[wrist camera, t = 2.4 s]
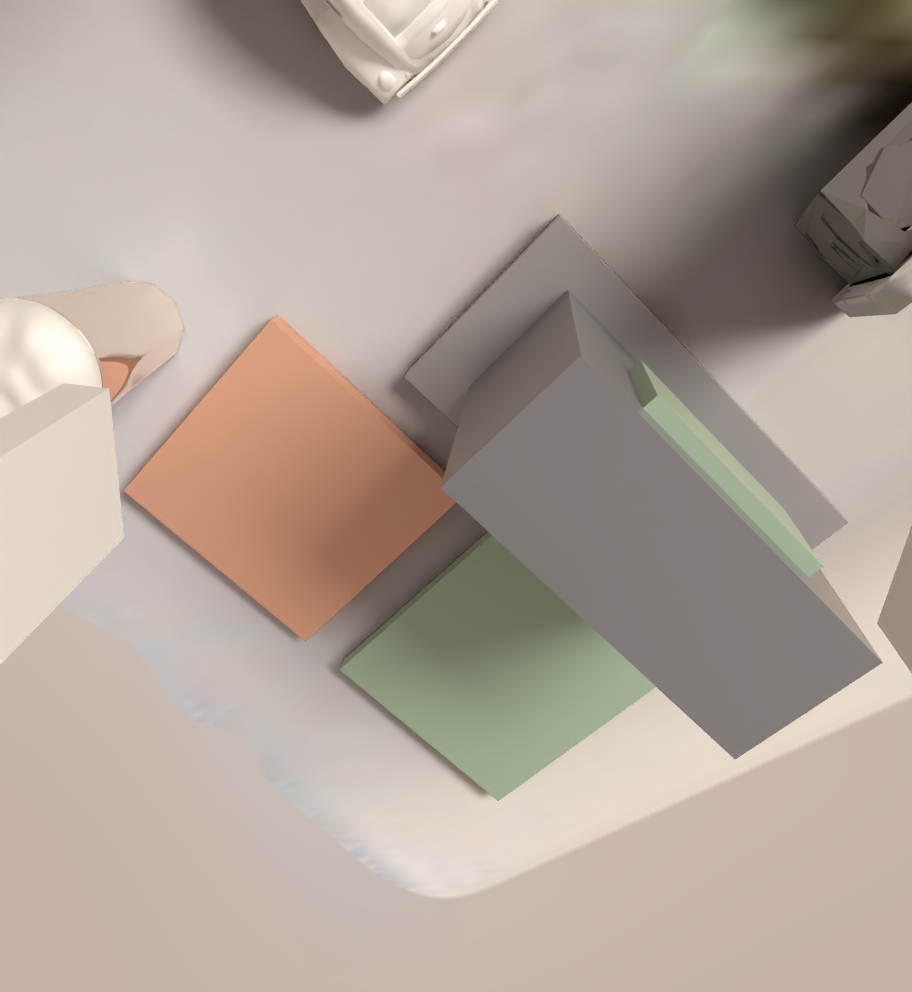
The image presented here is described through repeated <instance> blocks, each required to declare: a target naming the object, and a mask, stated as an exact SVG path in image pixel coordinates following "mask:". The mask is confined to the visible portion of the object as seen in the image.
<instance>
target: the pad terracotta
mask: <svg viewBox="0 0 912 992" xmlns="http://www.w3.org/2000/svg"><path fill="white" fill-rule="evenodd" d="M444 474H445V471H444V470H443V469H442V468H441V467H440V466H439V465H438V464H437V463H436V462H435V461H433V460H432V459H431V458H430V457H429V456H428V455H427V454H426V453H425V452H424V451H423V450H422V449H421V448H419V447H418V446H417V445H416V444H415V443H414V442H413V441H412V440H411V439H410V438H409V437H408V436H407V435H405V434H404V433H403V432H402V431H401V430H400V429H399V428H398V427H397V426H396V425H395V424H394V423H393V422H391V421H390V420H389V419H388V418H387V417H386V416H385V415H384V414H383V413H382V412H381V411H380V410H379V409H377V408H376V407H375V406H374V405H373V404H372V403H371V402H370V401H369V400H368V399H367V398H366V397H365V396H364V395H362V394H361V393H360V392H359V391H358V390H357V389H356V388H355V387H354V386H353V385H352V384H351V383H350V382H348V381H347V380H346V379H345V378H344V377H343V376H342V375H341V374H340V373H339V372H338V371H337V370H336V369H334V368H333V367H332V366H331V365H330V364H329V363H328V362H327V361H326V360H325V359H324V358H323V357H322V356H320V355H319V354H318V353H317V352H316V351H315V350H314V349H313V348H312V347H311V346H310V345H309V344H308V343H307V342H305V341H304V340H303V339H302V338H301V337H300V336H299V335H298V334H297V333H296V332H295V331H294V330H293V329H291V328H290V327H289V326H288V325H287V324H286V323H285V322H284V321H283V320H282V319H281V318H280V317H279V316H276V317H274V318H273V319H271V320H270V321H269V323H268V324H267V325H266V326H265V327H264V328H263V330H262V331H261V332H260V333H259V334H258V335H257V336H256V338H255V339H254V340H253V341H252V342H251V343H250V345H249V346H248V347H247V348H246V349H245V350H244V352H243V353H242V354H241V355H240V356H239V357H238V359H237V360H236V361H235V362H234V363H233V364H232V366H231V367H230V368H229V369H228V370H227V371H226V372H225V374H224V375H223V376H222V377H221V378H220V379H219V381H218V382H217V383H216V384H215V385H214V386H213V388H212V389H211V390H210V391H209V392H208V393H207V395H206V396H205V397H204V398H203V399H202V400H201V402H200V403H199V404H198V405H197V406H196V407H195V408H194V410H193V411H192V412H191V413H190V414H189V415H188V417H187V418H186V419H185V420H184V421H183V422H182V424H181V425H180V426H179V427H178V428H177V429H176V431H175V432H174V433H173V434H172V435H171V436H170V438H169V439H168V440H167V441H166V442H165V443H164V444H163V446H162V447H161V448H160V449H159V450H158V451H157V453H156V454H155V455H154V456H153V457H152V458H151V460H150V461H149V462H148V463H147V464H146V465H145V467H144V468H143V469H142V470H141V471H140V472H139V473H138V475H137V476H136V477H135V478H134V479H133V480H132V482H131V483H130V484H129V485H128V486H127V487H126V489H125V490H124V492H126V493H127V494H128V495H129V496H130V497H132V498H133V499H134V500H135V501H136V502H138V503H139V504H140V505H141V506H142V507H144V508H145V509H146V510H147V511H148V512H150V513H151V514H152V515H153V516H154V517H156V518H157V519H158V520H159V521H161V522H162V523H163V524H164V525H165V526H167V527H168V528H169V529H170V530H171V531H173V532H174V533H175V534H176V535H177V536H179V537H180V538H181V539H182V540H183V541H185V542H186V543H187V544H188V545H189V546H191V547H192V548H193V549H194V550H196V551H197V552H198V553H199V554H200V555H202V556H203V557H204V558H205V559H206V560H208V561H209V562H210V563H211V564H212V565H214V566H215V567H216V568H217V569H218V570H220V571H221V572H222V573H223V574H224V575H226V576H227V577H228V578H229V579H231V580H232V581H233V582H234V583H235V584H237V585H238V586H239V587H240V588H241V589H243V590H244V591H245V592H246V593H247V594H249V595H250V596H251V597H252V598H253V599H255V600H256V601H257V602H258V603H260V604H261V605H262V606H263V607H264V608H266V609H267V610H268V611H269V612H270V613H272V614H273V615H274V616H275V617H276V618H278V619H279V620H280V621H281V622H282V623H284V624H285V625H286V626H287V627H288V628H290V629H291V630H292V631H293V632H295V633H296V634H297V635H298V636H299V637H301V638H302V639H303V640H304V641H305V642H306V641H307V640H308V639H309V638H310V637H311V636H312V635H313V634H315V633H316V632H317V631H318V630H319V629H320V628H321V627H322V626H323V625H324V624H325V623H326V622H328V621H329V620H330V619H331V618H332V617H333V616H334V615H335V614H336V613H337V612H338V611H339V610H341V609H342V608H343V607H344V606H345V605H346V604H347V603H348V602H349V601H350V600H351V599H353V598H354V597H355V596H356V595H357V594H358V593H359V592H360V591H361V590H362V589H363V588H364V587H366V586H367V585H368V584H369V583H370V582H371V581H372V580H373V579H374V578H375V577H376V576H377V575H379V574H380V573H381V572H382V571H383V570H384V569H385V568H386V567H387V566H388V565H389V564H390V563H392V562H393V561H394V560H395V559H396V558H397V557H398V556H399V555H400V554H401V553H402V552H404V551H405V550H406V549H407V548H408V547H409V546H410V545H411V544H412V543H413V542H414V541H415V540H417V539H418V538H419V537H420V536H421V535H422V534H423V533H424V532H425V531H426V530H427V529H428V528H430V527H431V526H432V525H433V524H434V523H435V522H436V521H437V520H438V519H439V518H440V517H442V516H443V515H444V514H445V513H446V512H447V511H448V510H449V509H450V508H451V507H452V506H453V505H455V504H456V503H457V502H455V501H454V500H453V499H452V498H451V497H450V496H449V495H448V494H447V493H446V492H445V491H443V490H442V489H441V488H440V487H441V484H442V480H443V477H444Z"/></svg>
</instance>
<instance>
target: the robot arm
mask: <svg viewBox="0 0 912 992" xmlns="http://www.w3.org/2000/svg"><path fill="white" fill-rule="evenodd" d="M123 538H124V531H123V521H122V511H121V501H120V491H119V481H118V471H117V461H116V451H115V441H114V431H113V421H112V411H111V401H110V391H109V388H103V387H94V386H85V385H75V384H66V383H63V384H61V385H59V386H58V387H56V388H54V389H52V390H50V391H49V392H47V393H45V394H43V395H42V396H40V397H38V398H36V399H34V400H33V401H31V402H29V403H27V404H25V405H24V406H22V407H20V408H18V409H17V410H15V411H13V412H11V413H9V414H8V415H6V416H4V417H2V418H1V419H0V664H1V663H2V662H3V661H4V660H5V659H6V658H7V657H8V656H9V655H10V654H11V653H12V652H13V651H14V650H15V649H16V648H17V647H18V646H19V645H20V644H21V643H22V642H23V641H24V640H25V638H27V637H28V636H29V635H30V634H31V633H32V632H33V631H34V630H35V629H36V627H38V626H39V625H40V623H41V622H42V621H43V620H44V619H45V618H46V617H47V616H48V615H49V614H50V613H51V612H52V611H53V610H54V609H55V608H56V607H57V606H58V605H59V604H60V603H61V602H62V601H63V600H64V599H65V598H66V597H67V596H68V595H69V594H70V593H71V592H72V591H73V590H74V589H75V588H76V587H77V586H78V585H79V584H80V582H81V581H82V580H83V579H84V578H85V577H86V576H87V575H88V574H89V573H90V572H91V571H92V570H93V569H94V568H95V567H96V566H97V565H98V564H99V563H100V562H101V561H102V560H103V559H104V558H105V557H106V556H107V555H108V554H109V553H110V552H111V551H112V550H113V549H114V548H115V547H116V546H117V545H118V544H119V542H120V541H121V540H122V539H123ZM877 624H878V625H879V627H880V628H881V629H882V631H883V632H884V634H885V635H886V637H887V638H888V640H889V641H890V642H891V644H892V645H893V647H894V648H895V650H896V651H897V653H898V654H899V655H900V657H901V658H902V660H903V661H904V663H905V664H906V666H907V667H908V669H909V670H910V671H911V673H912V527H911V530H910V532H909V535H908V538H907V541H906V544H905V547H904V549H903V552H902V555H901V558H900V561H899V563H898V566H897V569H896V572H895V575H894V578H893V580H892V583H891V586H890V589H889V592H888V594H887V597H886V600H885V603H884V606H883V609H882V611H881V614H880V617H879V620H878V623H877Z"/></svg>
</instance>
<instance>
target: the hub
mask: <svg viewBox="0 0 912 992" xmlns="http://www.w3.org/2000/svg"><path fill="white" fill-rule="evenodd" d="M404 377H405V378H406V379H407V380H408V381H409V382H410V383H411V384H412V385H413V386H414V387H415V388H416V389H417V390H418V391H419V392H420V393H421V394H422V395H424V396H425V397H426V398H427V399H428V400H429V401H430V402H431V403H432V404H433V405H434V406H435V407H436V408H437V409H438V410H439V411H440V412H441V413H443V414H444V415H445V416H446V417H447V418H448V419H449V420H450V421H451V422H452V423H453V424H454V425H455V426H456V427H457V432H456V435H455V439H454V442H453V446H452V449H451V453H450V456H449V460H448V463H447V467H446V470H445V474H444V477H443V480H442V484H441V487H440V488H441V489H442V490H443V491H445V492H446V493H447V494H448V495H449V496H450V497H451V498H452V499H453V500H454V501H455V502H457V503H458V504H459V505H460V506H461V507H462V508H463V509H464V510H465V511H466V512H467V513H468V514H470V515H471V516H472V517H473V518H474V519H475V520H476V521H477V522H478V523H479V524H480V525H481V526H483V527H484V528H485V529H486V530H487V531H488V532H489V533H490V534H491V535H492V536H493V537H494V538H496V539H497V540H498V541H499V542H500V543H501V544H502V545H503V546H504V547H505V548H506V549H507V550H509V551H510V552H511V553H512V554H513V555H514V556H515V557H516V558H517V559H518V560H519V561H520V562H522V563H523V564H524V565H525V566H526V567H527V568H528V569H529V570H530V571H531V572H532V573H533V574H535V575H536V576H537V577H538V578H539V579H540V580H541V581H542V582H543V583H544V584H545V585H546V586H548V587H549V588H550V589H551V590H552V591H553V592H554V593H555V594H556V595H557V596H558V597H560V598H561V599H562V600H563V601H564V602H565V603H566V604H567V605H568V606H569V607H570V608H571V609H573V610H574V611H575V612H576V613H577V614H578V615H579V616H580V617H581V618H582V619H583V620H584V621H586V622H587V623H588V624H589V625H590V626H591V627H592V628H593V629H594V630H595V631H596V632H597V633H599V634H600V635H601V636H602V637H603V638H604V639H605V640H606V641H607V642H608V643H609V644H610V645H612V646H613V647H614V648H615V649H616V650H617V651H618V652H619V653H620V654H621V655H622V656H623V657H625V658H626V659H627V660H628V661H629V662H630V663H631V664H632V665H633V666H634V667H635V668H636V669H638V670H639V671H640V672H641V673H642V674H643V675H644V676H645V677H646V678H647V679H648V680H649V681H651V682H652V683H653V684H654V685H655V686H656V687H657V688H658V689H659V690H660V691H661V692H663V693H664V694H665V695H666V696H667V697H668V698H669V699H670V700H671V701H672V702H673V703H674V704H676V705H677V706H678V707H679V708H680V709H681V710H682V711H683V712H684V713H685V714H686V715H687V716H689V717H690V718H691V719H692V720H693V721H694V722H695V723H696V724H697V725H698V726H699V727H700V728H702V729H703V730H704V731H705V732H706V733H707V734H708V735H709V736H710V737H711V738H712V739H713V740H715V741H716V742H717V743H718V744H719V745H720V746H721V747H722V748H723V749H724V750H725V751H726V752H728V753H729V754H730V755H731V756H732V757H733V758H734V759H737V758H738V757H740V756H741V755H743V754H744V753H746V752H747V751H749V750H750V749H752V748H753V747H755V746H756V745H758V744H759V743H761V742H762V741H764V740H765V739H767V738H769V737H770V736H772V735H773V734H775V733H776V732H778V731H779V730H781V729H782V728H784V727H785V726H787V725H788V724H790V723H791V722H793V721H794V720H796V719H797V718H799V717H800V716H802V715H804V714H805V713H807V712H808V711H810V710H811V709H813V708H814V707H816V706H817V705H819V704H820V703H822V702H823V701H825V700H826V699H828V698H829V697H831V696H832V695H834V694H836V693H837V692H839V691H840V690H842V689H843V688H845V687H846V686H848V685H849V684H851V683H852V682H854V681H855V680H857V679H858V678H860V677H861V676H863V675H864V674H866V673H867V672H869V671H871V670H872V669H874V668H875V667H877V666H878V665H880V664H881V663H882V661H881V660H880V658H879V657H878V655H877V654H876V652H875V651H874V649H873V648H872V646H871V645H870V643H869V642H868V640H867V639H866V637H865V636H864V634H863V633H862V631H861V630H860V628H859V627H858V625H857V624H856V622H855V621H854V619H853V618H852V616H851V615H850V613H849V612H848V610H847V609H846V607H845V606H844V604H843V603H842V601H841V600H840V598H839V597H838V595H837V594H836V592H835V591H834V589H833V588H832V586H831V585H830V583H829V582H828V580H827V579H826V577H825V576H824V574H823V573H822V571H821V570H820V569H821V568H822V567H823V565H822V564H821V562H820V561H819V559H818V558H817V557H816V555H815V554H814V552H813V551H812V549H813V548H815V547H816V546H817V545H819V544H820V543H821V542H823V541H824V540H825V539H827V538H828V537H830V536H831V535H832V534H834V533H835V532H836V531H838V530H839V529H840V528H842V527H843V526H844V525H846V524H847V523H848V522H847V521H846V520H845V518H844V517H843V516H842V515H841V514H840V512H839V511H838V510H837V509H836V508H835V507H834V506H833V505H832V504H831V503H830V502H829V501H828V500H827V499H826V497H825V496H824V495H823V494H822V493H821V492H820V491H819V490H818V489H817V488H816V487H815V486H814V485H813V484H812V483H811V482H810V480H809V479H808V478H807V477H806V476H805V475H804V474H803V473H802V472H801V471H800V470H799V469H798V468H797V467H796V466H795V465H794V463H793V462H792V461H791V460H790V459H789V458H788V457H787V456H786V455H785V454H784V453H783V452H782V451H781V450H780V449H779V447H778V446H777V445H776V444H775V443H774V442H773V441H772V440H771V439H770V438H769V437H768V436H767V435H766V434H765V433H764V432H763V430H762V429H761V428H760V427H759V426H758V425H757V424H756V423H755V422H754V421H753V420H752V419H751V418H750V417H749V416H748V415H747V413H746V412H745V411H744V410H743V409H742V408H741V407H740V406H739V405H738V404H737V403H736V402H735V401H734V400H733V399H732V397H731V396H730V395H729V394H728V393H727V392H726V391H725V390H724V389H723V388H722V387H721V386H720V385H719V384H718V383H717V382H716V380H715V379H714V378H713V377H712V376H711V375H710V374H709V373H708V372H707V371H706V370H705V369H704V368H703V367H702V366H701V365H700V363H699V362H698V361H697V360H696V359H695V358H694V357H693V356H692V355H691V354H690V353H689V352H688V351H687V350H686V349H685V347H684V346H683V345H682V344H681V343H680V342H679V341H678V340H677V339H676V338H675V337H674V336H673V335H672V334H671V333H670V332H669V330H668V329H667V328H666V327H665V326H664V325H663V324H662V323H661V322H660V321H659V320H658V319H657V318H656V317H655V316H654V315H653V313H652V312H651V311H650V310H649V309H648V308H647V307H646V306H645V305H644V304H643V303H642V302H641V301H640V300H639V299H638V297H637V296H636V295H635V294H634V293H633V292H632V291H631V290H630V289H629V288H628V287H627V286H626V285H625V284H624V283H623V282H622V280H621V279H620V278H619V277H618V276H617V275H616V274H615V273H614V272H613V271H612V270H611V269H610V268H609V267H608V266H607V265H606V263H605V262H604V261H603V260H602V259H601V258H600V257H599V256H598V255H597V254H596V253H595V252H594V251H593V250H592V249H591V247H590V246H589V245H588V244H587V243H586V242H585V241H584V240H583V239H582V238H581V237H580V236H579V235H578V234H577V233H576V232H575V230H574V229H573V228H572V227H571V226H570V225H569V224H568V223H567V222H566V221H565V220H564V219H563V218H562V217H561V216H560V215H558V216H557V217H556V218H555V219H554V220H553V221H552V222H551V223H550V224H549V225H548V226H547V227H546V228H545V229H544V230H543V231H542V232H541V233H540V234H539V235H538V236H537V238H536V239H535V240H534V241H533V242H532V243H531V244H530V245H529V246H528V247H527V248H526V249H525V250H524V251H523V252H522V253H521V254H520V255H519V256H518V257H517V258H516V259H515V260H514V261H513V262H512V263H511V264H510V265H509V266H508V267H507V268H506V269H505V271H504V272H503V273H502V274H501V275H500V276H499V277H498V278H497V279H496V280H495V281H494V282H493V283H492V284H491V285H490V286H489V287H488V288H487V289H486V290H485V291H484V292H483V293H482V294H481V295H480V296H479V297H478V298H477V299H476V300H475V301H474V302H473V304H472V305H471V306H470V307H469V308H468V309H467V310H466V311H465V312H464V313H463V314H462V315H461V316H460V317H459V318H458V319H457V320H456V321H455V322H454V323H453V324H452V325H451V326H450V327H449V328H448V329H447V330H446V331H445V332H444V333H443V334H442V335H441V337H440V338H439V339H438V340H437V341H436V342H435V343H434V344H433V345H432V346H431V347H430V348H429V349H428V350H427V351H426V352H425V353H424V354H423V355H422V356H421V357H420V358H419V359H418V360H417V361H416V362H415V363H414V364H413V365H412V366H411V367H410V368H409V370H408V371H407V372H406V374H405V376H404Z"/></svg>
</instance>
